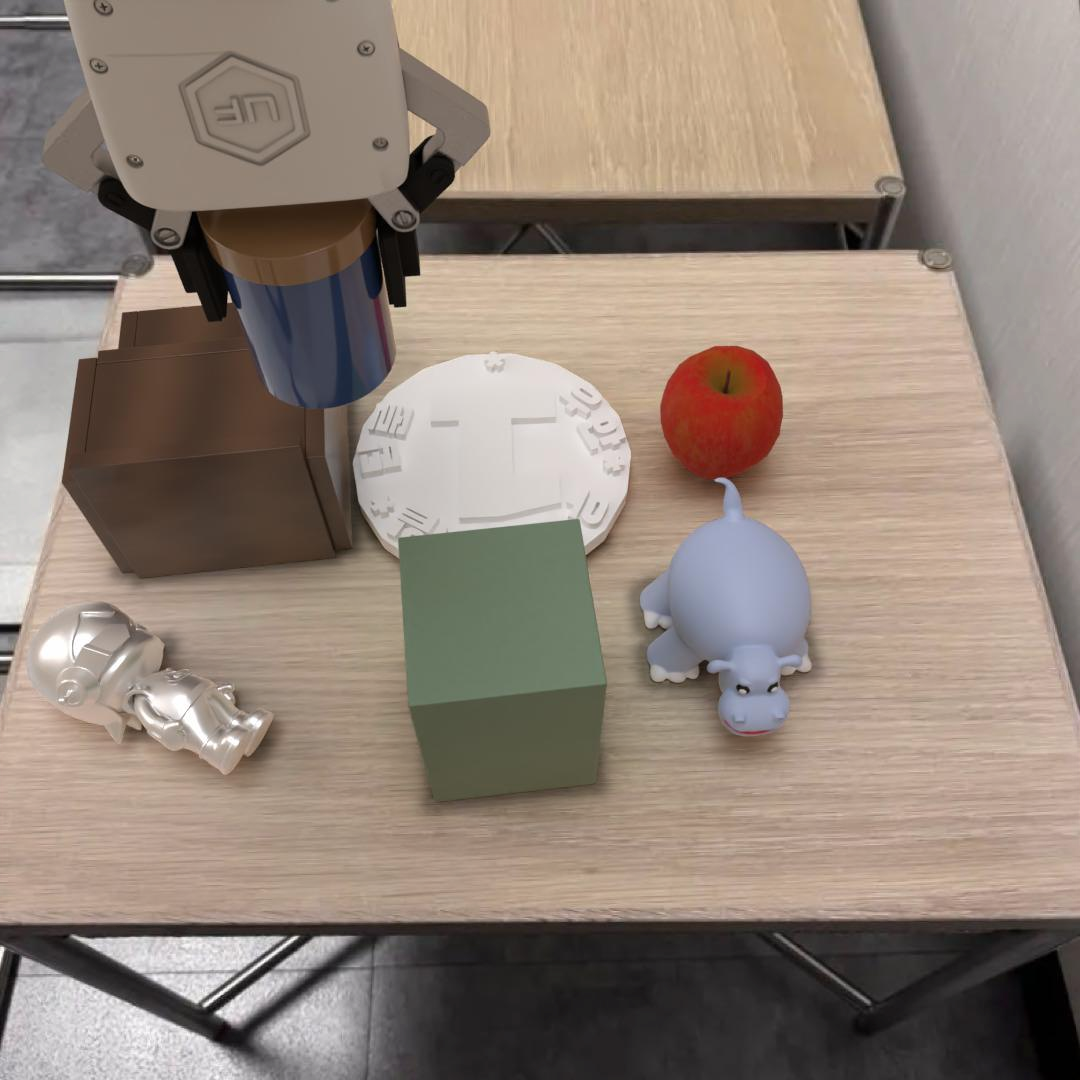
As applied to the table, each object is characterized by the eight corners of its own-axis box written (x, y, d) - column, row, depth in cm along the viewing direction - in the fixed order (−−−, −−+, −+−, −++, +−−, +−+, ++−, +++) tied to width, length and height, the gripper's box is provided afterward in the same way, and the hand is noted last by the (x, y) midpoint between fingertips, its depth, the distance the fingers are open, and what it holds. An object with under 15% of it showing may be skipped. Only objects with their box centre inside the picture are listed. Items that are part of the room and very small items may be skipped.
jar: (247, 419, 47) (189, 265, 39) (253, 305, 50) (201, 144, 43) (403, 406, 47) (376, 251, 40) (398, 294, 51) (372, 132, 43)
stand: (434, 803, 66) (408, 706, 53) (424, 656, 71) (397, 537, 58) (595, 783, 66) (607, 683, 54) (573, 639, 72) (579, 518, 59)
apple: (681, 404, 82) (698, 303, 73) (785, 445, 80) (816, 346, 71) (633, 485, 78) (644, 389, 69) (741, 531, 76) (768, 438, 67)
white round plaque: (658, 407, 82) (662, 382, 80) (586, 626, 72) (588, 605, 70) (414, 348, 85) (410, 322, 83) (314, 550, 75) (306, 528, 73)
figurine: (225, 739, 60) (3, 604, 61) (178, 840, 62) (-35, 708, 63) (306, 674, 70) (114, 560, 71) (264, 763, 72) (78, 650, 73)
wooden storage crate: (121, 580, 74) (47, 471, 63) (142, 356, 85) (82, 230, 74) (352, 556, 75) (319, 444, 64) (345, 337, 86) (315, 210, 75)
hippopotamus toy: (660, 763, 67) (676, 703, 59) (632, 558, 75) (643, 480, 67) (830, 751, 67) (869, 690, 59) (785, 548, 75) (814, 470, 67)
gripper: (-157, -78, 28) (90, 374, 43) (509, -116, 29) (521, 340, 44) (-96, -215, 32) (110, 244, 47) (487, -245, 33) (505, 215, 48)
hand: (308, 288), depth 45 cm, fingers closed on jar, 6 cm apart
